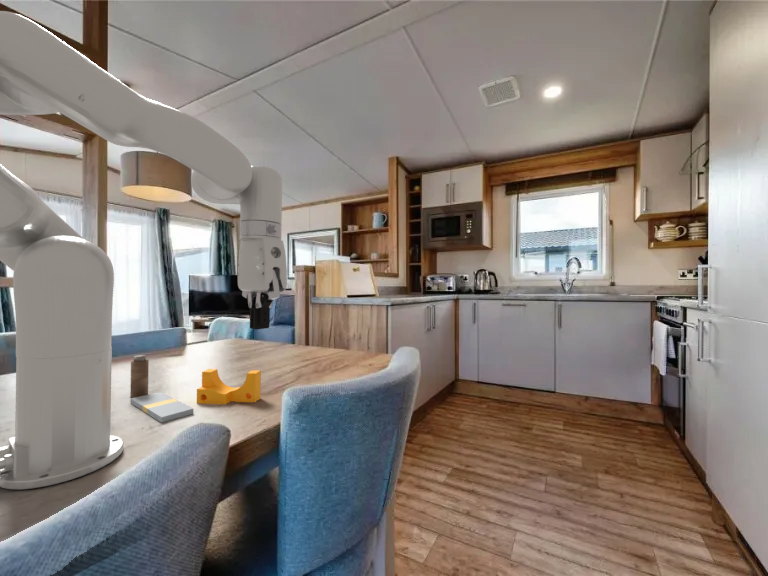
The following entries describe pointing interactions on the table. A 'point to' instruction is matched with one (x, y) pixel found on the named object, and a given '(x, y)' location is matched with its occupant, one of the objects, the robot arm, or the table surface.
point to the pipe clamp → (228, 389)
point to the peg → (139, 376)
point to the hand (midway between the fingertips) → (259, 328)
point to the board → (162, 406)
